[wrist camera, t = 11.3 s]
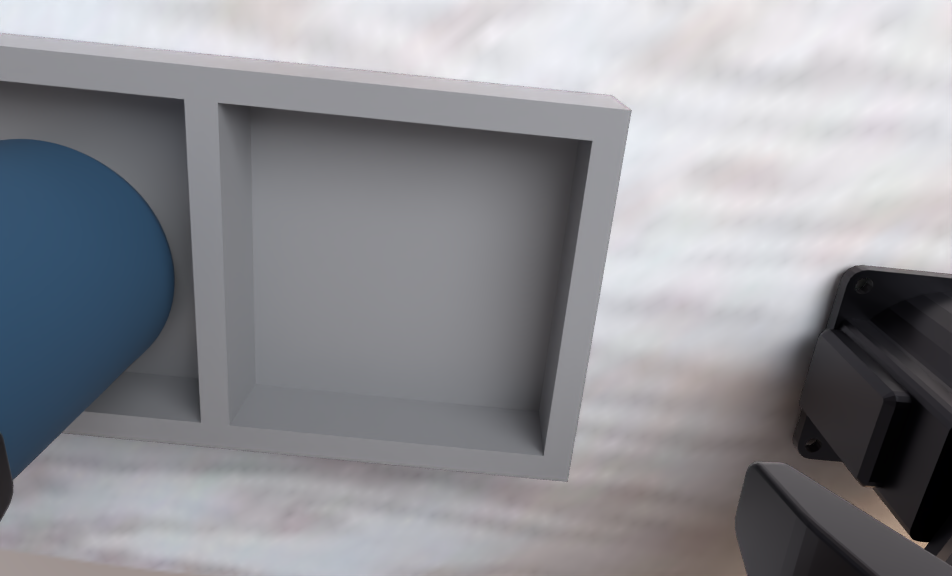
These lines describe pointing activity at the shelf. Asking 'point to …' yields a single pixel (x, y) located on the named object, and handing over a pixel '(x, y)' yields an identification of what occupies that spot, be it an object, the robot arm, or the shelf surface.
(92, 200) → the soda can
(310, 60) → the shelf surface
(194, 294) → the can carrier
